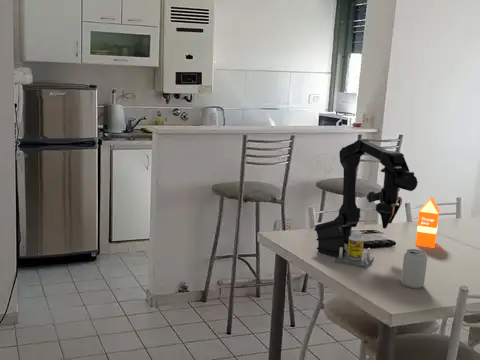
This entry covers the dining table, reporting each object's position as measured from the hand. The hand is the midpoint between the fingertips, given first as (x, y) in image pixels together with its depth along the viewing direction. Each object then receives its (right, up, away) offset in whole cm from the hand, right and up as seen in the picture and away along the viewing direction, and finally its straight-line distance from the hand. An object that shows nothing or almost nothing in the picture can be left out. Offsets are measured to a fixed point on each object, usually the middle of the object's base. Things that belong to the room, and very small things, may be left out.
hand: (387, 225), depth 226 cm
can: (+2, -18, -25) cm, 31 cm away
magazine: (-22, -12, +4) cm, 25 cm away
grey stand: (-13, -13, -3) cm, 19 cm away
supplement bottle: (-13, -12, -3) cm, 18 cm away
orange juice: (+23, -10, +25) cm, 35 cm away
